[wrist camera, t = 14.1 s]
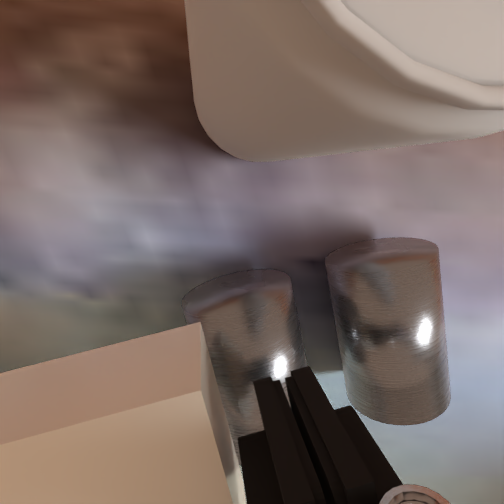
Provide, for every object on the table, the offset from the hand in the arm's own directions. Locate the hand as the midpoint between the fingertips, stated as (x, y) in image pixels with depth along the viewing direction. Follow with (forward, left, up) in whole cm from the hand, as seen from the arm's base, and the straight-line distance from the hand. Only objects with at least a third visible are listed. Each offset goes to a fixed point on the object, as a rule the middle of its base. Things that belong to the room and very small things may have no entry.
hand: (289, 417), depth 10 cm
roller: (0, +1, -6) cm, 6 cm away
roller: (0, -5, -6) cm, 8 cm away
